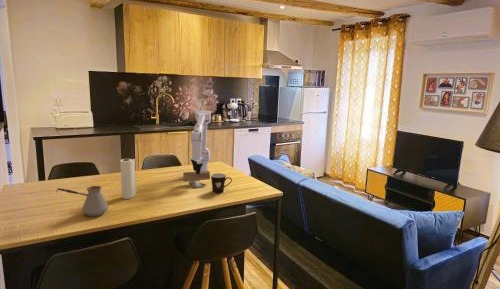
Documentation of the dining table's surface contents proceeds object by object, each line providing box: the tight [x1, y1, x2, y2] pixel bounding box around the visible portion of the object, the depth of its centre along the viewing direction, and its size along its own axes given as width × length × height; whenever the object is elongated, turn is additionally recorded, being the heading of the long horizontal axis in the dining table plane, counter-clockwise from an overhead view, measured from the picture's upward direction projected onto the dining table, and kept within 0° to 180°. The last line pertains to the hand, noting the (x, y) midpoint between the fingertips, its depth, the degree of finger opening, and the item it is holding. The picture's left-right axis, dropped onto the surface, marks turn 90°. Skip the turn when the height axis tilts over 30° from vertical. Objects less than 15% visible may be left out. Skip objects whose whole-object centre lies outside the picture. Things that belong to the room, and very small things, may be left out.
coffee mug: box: [210, 172, 233, 194], centre depth 193 cm, size 12×9×10 cm
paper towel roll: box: [119, 158, 137, 200], centre depth 178 cm, size 7×6×21 cm
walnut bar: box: [182, 170, 211, 182], centre depth 205 cm, size 4×16×4 cm, turn 110°
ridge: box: [189, 180, 205, 189], centre depth 206 cm, size 14×6×3 cm, turn 20°
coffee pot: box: [55, 185, 109, 217], centre depth 155 cm, size 21×12×15 cm, turn 120°
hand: (196, 172), depth 205 cm, fingers open, 7 cm apart
